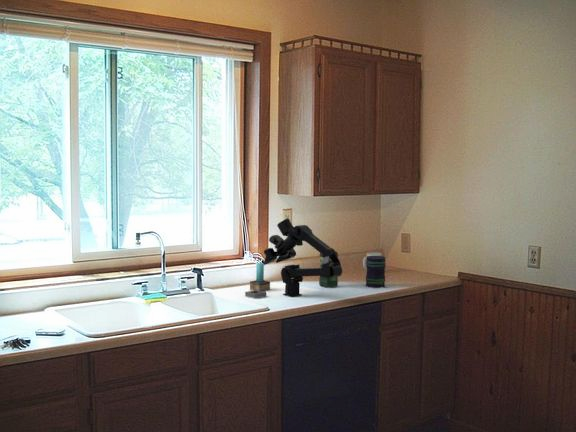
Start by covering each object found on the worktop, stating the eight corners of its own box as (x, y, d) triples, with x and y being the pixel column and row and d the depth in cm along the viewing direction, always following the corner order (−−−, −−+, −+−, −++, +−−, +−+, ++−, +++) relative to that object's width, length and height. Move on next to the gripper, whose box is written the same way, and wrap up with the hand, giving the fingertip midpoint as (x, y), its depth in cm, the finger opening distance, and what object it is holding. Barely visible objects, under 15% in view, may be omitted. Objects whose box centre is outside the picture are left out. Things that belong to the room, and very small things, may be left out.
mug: (374, 270, 381) (374, 252, 380) (384, 272, 374) (384, 253, 373) (358, 272, 375) (358, 253, 374) (367, 274, 368) (368, 255, 367)
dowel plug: (265, 283, 317) (265, 263, 317) (259, 284, 315) (259, 264, 314) (260, 282, 320) (260, 262, 319) (254, 283, 318) (254, 263, 317)
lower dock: (266, 296, 301) (266, 292, 301) (254, 298, 297) (254, 294, 296) (256, 294, 307) (256, 290, 306) (245, 296, 302) (245, 291, 302)
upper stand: (269, 290, 318) (270, 281, 317) (259, 291, 313) (259, 283, 313) (260, 288, 323) (260, 279, 322) (249, 289, 318) (249, 281, 318)
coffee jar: (340, 287, 327) (341, 250, 326) (327, 288, 323) (328, 251, 322) (329, 284, 336) (329, 248, 334) (316, 285, 331) (317, 249, 330)
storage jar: (388, 285, 333) (388, 256, 332) (380, 288, 325) (380, 259, 324) (370, 283, 338) (371, 255, 337) (362, 286, 330) (362, 257, 329)
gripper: (292, 228, 315) (274, 247, 323) (267, 231, 301) (248, 251, 309) (304, 247, 311) (285, 266, 319) (279, 251, 297) (260, 270, 305)
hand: (270, 263), depth 313 cm, fingers open, 9 cm apart
